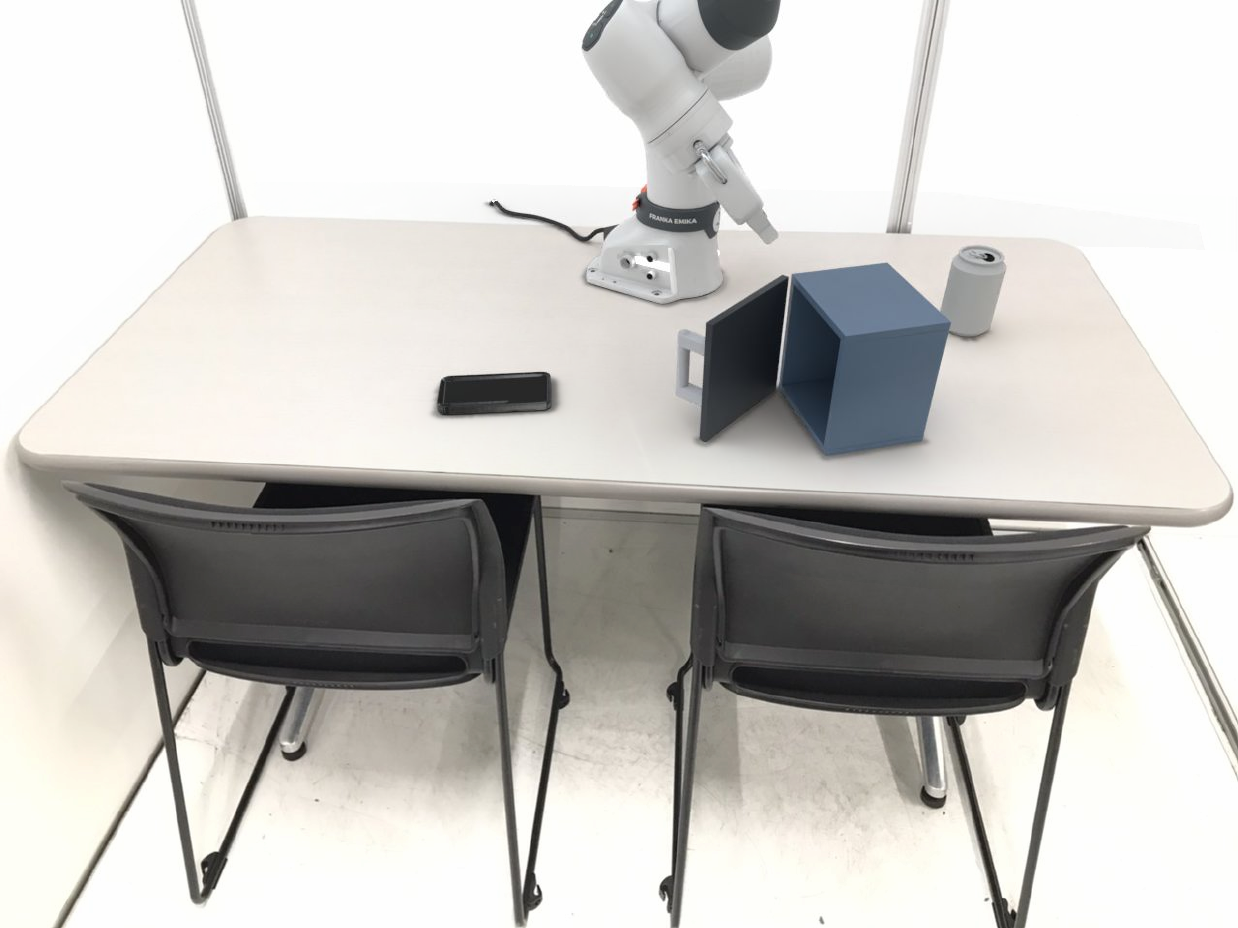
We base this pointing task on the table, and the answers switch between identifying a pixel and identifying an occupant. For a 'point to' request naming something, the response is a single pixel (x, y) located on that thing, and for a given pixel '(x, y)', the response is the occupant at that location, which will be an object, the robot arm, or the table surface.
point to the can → (973, 289)
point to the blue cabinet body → (861, 357)
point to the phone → (494, 393)
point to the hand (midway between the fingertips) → (767, 230)
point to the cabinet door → (734, 357)
